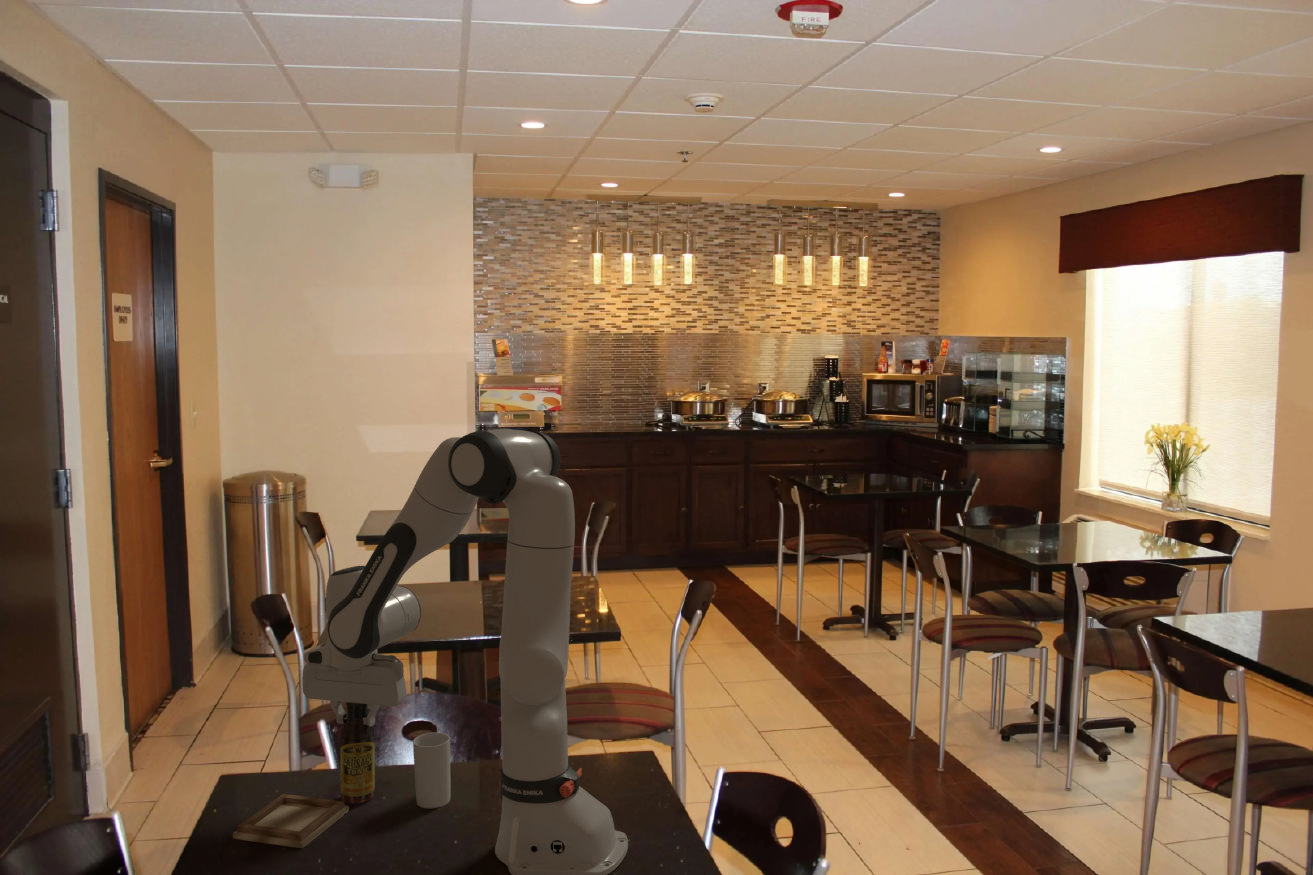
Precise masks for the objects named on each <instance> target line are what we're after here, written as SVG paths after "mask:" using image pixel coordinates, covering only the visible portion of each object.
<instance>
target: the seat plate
mask: <svg viewBox="0 0 1313 875" xmlns="http://www.w3.org/2000/svg"><path fill="white" fill-rule="evenodd" d="M349 806H350V805H346V804H345V802H344V801H342V800H334V799H327V798H320V797H319V798H318V797H311V796H302V795H296V794H295V795H294V794H288V793H287V794H286V793H283V794H281V795H280V796H279V797H277V798H275V799H274V800H272V801H271V802H270V803H268V804H267V805H265V806H264V807H262V809H260V810H259V811H257V812H255V813H254V814H252V815H251V816H250V817H249V818H248V817H247V819H245V820H244V821H243V822H241V823H240V824H238V825H237V826H236V830H235V831H233V832H232V839H235V840H241V841H248V842H254V843H255V842H256V843H262V844H267V845H268V844H269V845H276V846H283V847H289V848H296V849H297V848H298V849H304V848H305V847H306V846H308V845H309V844H310V843H311V842H313V841H314V840H315V839H316V838H318V836H320V835H321V834H322V833H324V832H325V831H326V830H328V828H330V827H331V826H332V825H334V824H335V823H336V822H338V820H340V819H341V818H342V817H344V816H345V815H346V814H347V813H349V812H350V811H349V810H350V807H349ZM345 813H346V814H345ZM344 814H345V815H344Z"/></svg>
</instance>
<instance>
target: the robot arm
mask: <svg viewBox="0 0 1313 875" xmlns="http://www.w3.org/2000/svg"><path fill="white" fill-rule="evenodd" d="M561 461H562V460H561V452H560V449H559V447H558V445H557V443H556V442H555V440H553V438H552V437H550V436H549V435H548V434H546V433H543V432H541V431H537V430H534V429H533V430H532V429H525V430H521V429H511V428H495V429H489V430H477V431H473V432H470V433H467V434H465V435H463V436H461V437H459V436H458V437H457V436H453V437H450V438H446V439H445V440H443V441H442V442H441V443H440V444H439V445H438V446H437V448H436V449H435V450H434V451H433V453H432V454H431V456H430V457H429V459H428V460H427V462H426V464H425V465H424V467H423V468H422V470H421V472H420V474H419V476H418V478H417V479H416V482H415V485H414V487H413V489H412V491H411V492H410V495H409V496H408V498H407V500H406V502H405V504H404V505H403V507H402V509H401V510H400V512H399V514H398V515H397V517H396V518H395V519H394V521H393V522H392V524H391V525H390V527H389V528H388V530H387V531H386V532H385V534H384V536H383V537H382V538H381V539H380V540H379V542H378V543H377V546H376V547H375V549H374V550H373V551H372V553H371V555H370V557H369V558H368V561H367V562H366V564H365V565H355V566H351V567H347V568H342V569H338V570H336V571H334V572H333V573H331V574H330V575H329V577H328V579H327V583H326V588H325V616H326V621H327V638H326V639H327V641H326V642H324V643H321V644H319V645H317V646H314V647H312V648H311V649H309V650H307V651H306V652H304V653H303V661H304V663H305V665H304V666H303V668H302V669H303V670H302V682H301V683H302V685H301V686H302V692H303V695H304V696H305V698H306V699H308V700H309V699H310V700H318V701H319V700H320V701H329V703H330V704H329V706H330V707H331V709H332V711H333V713H334V714H335V715H336V716H335V718H336V723H337V724H343V725H345V723H346V721H347V711H345V709H344V708H343V705H342V704H343V703H346V702H352V703H361V704H367V707H368V710H369V712H368V714H367V715H366V716H364V717H363V721H364V723H363V725H364V726H370V727H371V726H373V727H374V725H375V724H376V714H377V713H378V711H379V709H380V707H382V706H383V707H384V706H385V707H397V706H399V705H400V704H401V703H403V702H404V701H405V699H406V698H407V686H406V680H405V675H404V674H405V673H404V672H405V669H404V663H403V661H401V659H399V658H397V656H396V655H394V654H393V655H392V654H389V655H386V654H381V653H380V654H379V653H378V649H380V648H382V647H384V646H386V645H388V644H389V645H390V644H391V643H393V642H395V641H397V640H400V639H402V638H404V637H406V636H408V635H409V634H410V633H412V632H414V631H416V630H417V628H418V627H419V624H420V622H421V617H422V609H421V608H422V607H421V605H420V601H419V599H418V597H417V595H416V594H415V593H414V592H413V591H412V590H410V589H409V588H408V587H405V586H402V585H398V584H399V583H400V581H401V579H402V578H403V576H404V575H405V573H407V571H408V570H409V569H411V568H412V567H413V566H414V565H415V564H416V563H417V562H419V561H421V560H422V559H424V558H425V557H427V556H429V555H430V554H432V553H434V552H435V551H437V550H439V549H441V548H443V547H445V546H447V545H449V544H450V543H452V542H453V541H454V540H455V539H456V538H457V537H458V536H459V535H460V534H461V532H462V531H463V529H464V528H465V527H466V525H467V524H468V521H469V520H470V519H471V516H472V514H473V512H474V510H475V507H476V506H477V504H478V502H479V499H482V500H483V501H484V502H487V503H488V504H490V505H498V504H499V503H503V504H504V505H505V507H506V509H507V512H508V530H507V531H508V532H507V543H506V555H505V556H506V557H505V570H504V583H503V584H504V586H503V601H502V616H501V631H500V633H501V634H500V639H499V653H498V654H499V657H498V673H499V678H500V715H501V716H500V724H501V725H500V726H501V727H500V729H501V730H500V731H501V734H500V735H501V762H502V763H501V764H502V765H501V767H500V769H499V770H500V771H499V791H500V794H499V795H500V799H501V800H502V802H501V805H502V806H501V815H500V824H499V831H498V835H497V840H496V844H495V847H494V853H495V856H496V857H497V859H498V860H499V861H500V862H502V863H503V864H505V866H507V869H508V872H509V873H510V874H511V875H608V874H610V873H612V872H613V871H614V870H616V869H617V867H619V866H620V864H621V863H622V862H623V860H624V858H625V857H626V854H628V853H627V852H628V849H629V841H628V836H627V834H626V833H625V832H624V831H623V832H622V831H620V830H616V828H615V823H614V820H613V816H612V812H611V810H610V808H608V806H606V805H605V804H604V803H602V801H601V802H600V801H599V799H597V798H595V797H594V796H593V795H591V794H590V793H589V792H588V791H587V790H585V789H584V788H583V787H581V786H580V777H581V776H582V774H583V772H582V767H579V769H578V770H577V771H576V770H574V768H573V767H572V765H571V764H570V762H569V752H568V751H569V745H568V741H569V740H568V714H567V711H568V710H567V694H566V691H567V690H566V677H567V673H568V667H569V651H570V650H569V646H570V645H569V644H570V626H571V598H572V597H571V596H572V594H571V593H572V579H573V567H574V566H573V565H574V552H575V537H576V531H575V530H576V519H575V516H576V515H575V514H576V513H575V504H574V496H573V495H574V494H573V490H572V489H571V487H570V485H569V484H568V483H567V482H566V481H565V480H563V479H562V478H559V477H558V474H559V471H560V469H561Z"/></svg>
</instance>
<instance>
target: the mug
mask: <svg viewBox="0 0 1313 875" xmlns="http://www.w3.org/2000/svg"><path fill="white" fill-rule="evenodd" d="M412 743H413V744H412V745H413V746H412V748H413V749H412V750H413V751H412V752H413V765H414V783H415V798H416V800H415V801H416V804H417V806H418V807H420V808H423V809H428V810H429V809H438V808H442V807H444V806H446V805H447V804H449V803H450V801H451V786H452V785H451V782H452V781H451V736H450V735H449V734H446V733H442V732H428V733H424V734H420V735H418V736H416V737H415V738H413V740H412Z"/></svg>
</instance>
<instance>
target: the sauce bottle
mask: <svg viewBox="0 0 1313 875" xmlns="http://www.w3.org/2000/svg"><path fill="white" fill-rule="evenodd" d="M345 704H346V705H345V706H346V712H347V721H346V723H345V724H343V727H342V729H341V731H340V745H339V746H340V747H339V748H340V752H339V753H340V754H339V755H340V760H339V761H340V765H339V766H340V768H339V769H340V772H339V773H340V775H339V776H340V782H339V783H340V791H339V792H340V797H341V798H340V799H341V801H344V803H346V804H350V805H359V804H362V803H366V802H370V800H372V798H373V797H374V795H375V788H376V786H375V785H376V784H375V783H376V782H375V781H376V779H375V772H376V771H375V770H376V769H375V768H376V766H375V765H376V763H375V758H376V756H375V754H376V753H375V750H376V748H375V744H376V743H375V728H374V725H373V726H371V727H370V726H364V725H363V723H364V721H363V717H364V716H366V715H367V714H369V712H368V710H369V709H368V707H367V704H361V703H352V702H345Z"/></svg>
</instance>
